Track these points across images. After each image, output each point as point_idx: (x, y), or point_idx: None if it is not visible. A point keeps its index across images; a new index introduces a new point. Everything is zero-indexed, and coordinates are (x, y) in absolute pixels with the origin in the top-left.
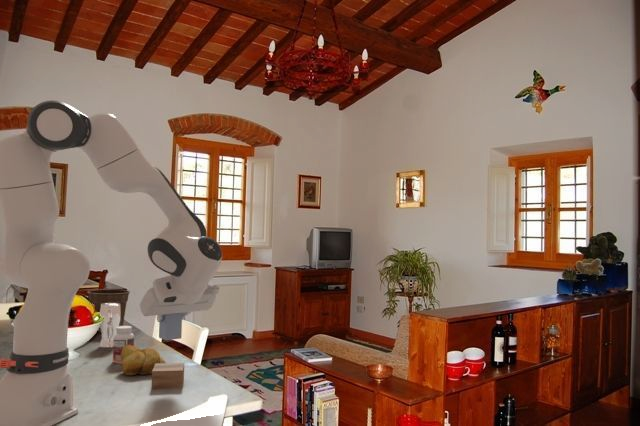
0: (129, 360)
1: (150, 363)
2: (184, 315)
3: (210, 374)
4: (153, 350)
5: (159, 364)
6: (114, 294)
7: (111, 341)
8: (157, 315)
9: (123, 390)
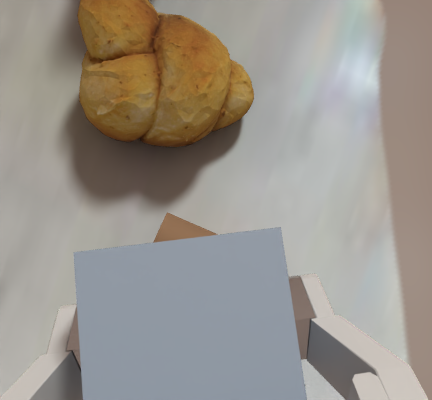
0: (91, 106)
1: (174, 140)
2: (320, 372)
3: (383, 247)
4: (199, 78)
5: (177, 237)
6: None
7: None
8: (53, 328)
9: (36, 287)
